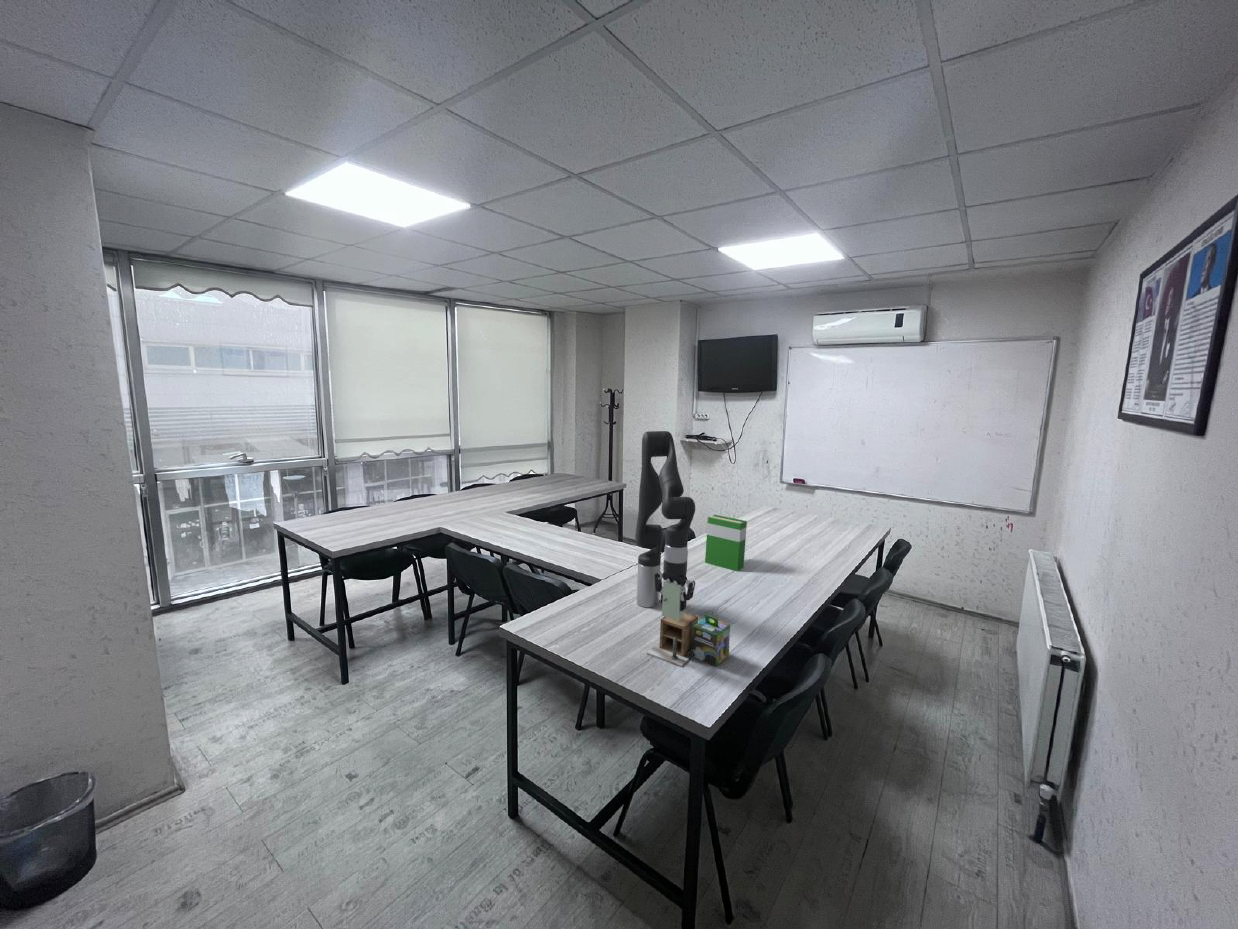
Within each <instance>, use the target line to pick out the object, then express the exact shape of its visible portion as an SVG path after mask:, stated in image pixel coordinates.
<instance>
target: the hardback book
mask: <svg viewBox="0 0 1238 929" xmlns="http://www.w3.org/2000/svg"><path fill="white" fill-rule="evenodd" d="M747 525H748V520H742V519H738V518H733V517H728V516H723V515H720V514H719V515H717V514H713V516H712V517H711V516H708V517H707V526H706V543H705V558H704V559H705V560H704V563H705V564H708V565H712V566H715V567H719V568H723V569H727V570H731V571H734V572H739V571H740V570H742V569H743V568H744V566H745V554H746V541H747V540H746V538H747Z"/></svg>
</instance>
